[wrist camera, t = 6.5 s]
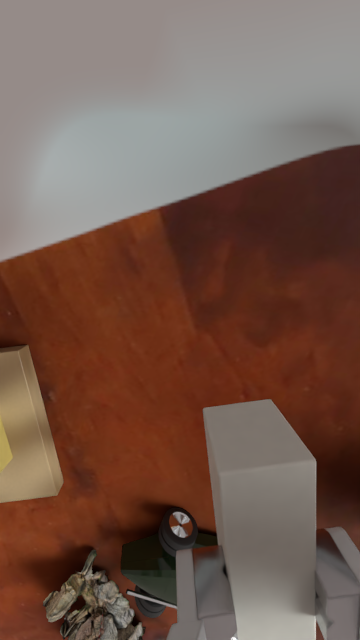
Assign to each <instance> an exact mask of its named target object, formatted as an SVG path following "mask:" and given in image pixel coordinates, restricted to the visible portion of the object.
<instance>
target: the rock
mask: <svg viewBox="0 0 360 640" xmlns="http://www.w3.org/2000/svg"><path fill="white" fill-rule="evenodd" d="M96 555H97V554H96V550H92V551H91V552H90V554H89V556H88V559H87V560H86V562H85V566H84V569H83V570H82V571H81V573H80V572H77V573H78V574H75V573H74V575H71V577H70V578H69V579H68V581H67V582H65V583H63V584H62V587H61V591H60V592H58V591H53V592H52V593H50V594H49V596H48V597H47V598H46V599H45V601H43V606H45V607H46V612H47V615H46V617H47V618H48V619H49V620H48V621H49V622H54V621H56V620H58V619H60V618H61V617H62V616H63V615H65V618H64V623H63V624H62V626H61V631H60V632H61V635H62V636H63V639H65V637H67V636H69V638H68V640H142V635H143V634H144V633H145V628H146V627H142V623H141V622H139V624H138V625H137V626H136V627H133V625H132V624H131V623H132V622H133V617H134V616H135V614H134V610H132V609H130V608H129V601H127V599H125V598H123V595H122V594H121V593H118V591H119V587H118V585H116V584H115V583H114V581H109V582H108V575H107V577H106V576H105V575H104V574H105V571H106V570H104V571H100V572H99V571H98V572H96V573H95V574H94V575H92V574H91V573H92V572H93V571H92V565H93V561H94V558H95V557H96ZM75 572H76V571H75ZM100 575H101V577H100ZM100 578H101V579H100ZM81 595H82V596H83V598H84V600H85V601H86V605H85V606H83V608H82V609H80V610H79V611H77V610H75V611H73V612H72V614H71V612H68V611H69V610H70V609H71V608H70V606H71V604H73V603H74V602H75V601H76V599H77V600H78V598H77V597H78V596H81ZM66 617H67V618H66Z"/></svg>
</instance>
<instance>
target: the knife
mask: <svg viewBox="0 0 360 640" xmlns="http://www.w3.org/2000/svg"><path fill="white" fill-rule="evenodd" d="M203 416H204V425H205V434H206V443H207V451H208V460H209V469H210V477H211V486H212V495H213V504H214V512H215V521H216V530H217V539H218V545H222V548H223V553H224V558H225V564H226V573H227V578H228V579H229V582H230V587H231V592H232V598H233V603H234V609H235V615H236V623H237V636H238V640H316V618H315V598H316V590H315V570H316V460H315V458H314V457H313V455H312V454H311V453H310V451H309V450H308V449H307V447H306V446H305V445H304V443H303V442H302V441H301V439H300V438H299V437H298V435H297V434H296V433H295V431H294V430H293V428H292V427H291V426H290V424H289V423H288V422H287V420H286V419H285V418H284V416H283V415H282V414H281V412H280V411H279V410H278V408H277V407H276V406H275V404H274V403H273V402H272V400H271V399H266V400H259V401H251V402H244V403H237V404H229V405H222V406H214V407H207V408H203Z"/></svg>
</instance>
